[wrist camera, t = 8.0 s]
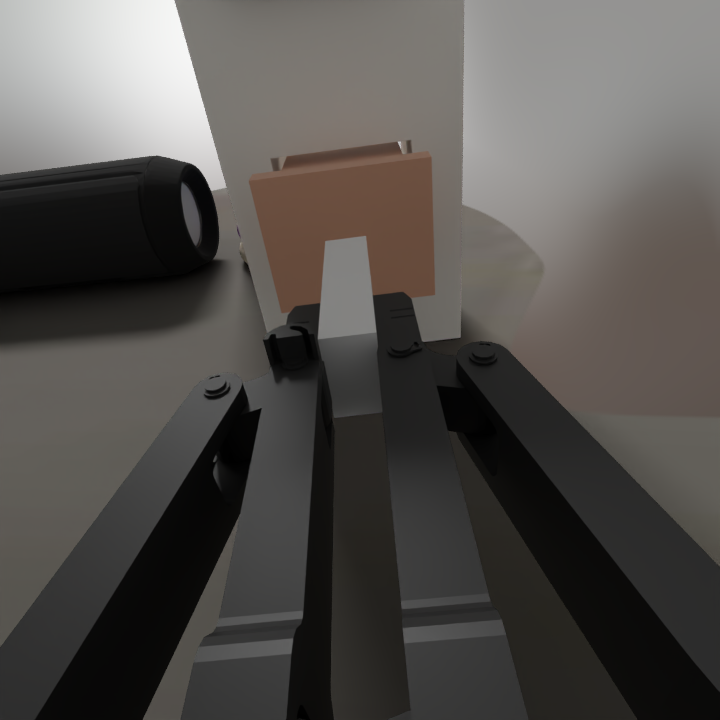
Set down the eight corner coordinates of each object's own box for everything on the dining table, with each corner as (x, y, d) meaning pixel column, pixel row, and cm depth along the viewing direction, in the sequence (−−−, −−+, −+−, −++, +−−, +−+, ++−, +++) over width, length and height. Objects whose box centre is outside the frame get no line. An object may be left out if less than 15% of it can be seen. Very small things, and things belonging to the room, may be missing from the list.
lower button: (281, 313, 23) (248, 180, 20) (293, 255, 29) (269, 144, 25) (435, 294, 23) (431, 156, 19) (416, 240, 29) (411, 124, 25)
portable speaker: (231, 245, 48) (199, 140, 42) (202, 292, 40) (159, 170, 34) (-2, 270, 50) (-62, 173, 45) (-72, 318, 42) (-156, 208, 37)
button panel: (274, 359, 31) (29, -523, 13) (283, 312, 35) (114, -376, 18) (460, 337, 30) (470, -613, 12) (444, 292, 35) (434, -435, 17)
